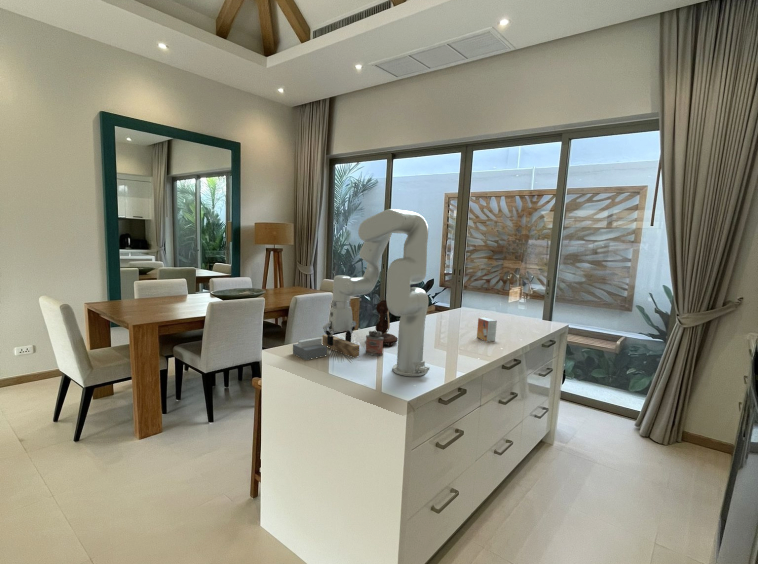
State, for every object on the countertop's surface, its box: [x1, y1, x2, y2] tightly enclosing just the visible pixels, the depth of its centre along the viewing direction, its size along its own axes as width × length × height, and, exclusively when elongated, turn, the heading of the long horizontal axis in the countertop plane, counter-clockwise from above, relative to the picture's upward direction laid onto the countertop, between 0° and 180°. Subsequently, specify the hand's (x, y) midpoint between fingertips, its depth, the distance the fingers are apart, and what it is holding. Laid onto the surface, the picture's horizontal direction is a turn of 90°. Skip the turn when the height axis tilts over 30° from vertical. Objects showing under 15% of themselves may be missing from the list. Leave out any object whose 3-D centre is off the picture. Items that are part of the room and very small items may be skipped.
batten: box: [322, 334, 360, 358], centre depth 170 cm, size 22×3×5 cm, turn 43°
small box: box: [476, 317, 498, 342], centre depth 202 cm, size 8×6×10 cm
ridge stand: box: [292, 337, 328, 361], centre depth 162 cm, size 10×10×6 cm
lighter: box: [364, 329, 384, 357], centre depth 167 cm, size 8×3×10 cm, turn 62°
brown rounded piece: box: [375, 299, 398, 347], centre depth 185 cm, size 15×15×20 cm
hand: (339, 343), depth 170 cm, fingers open, 9 cm apart
